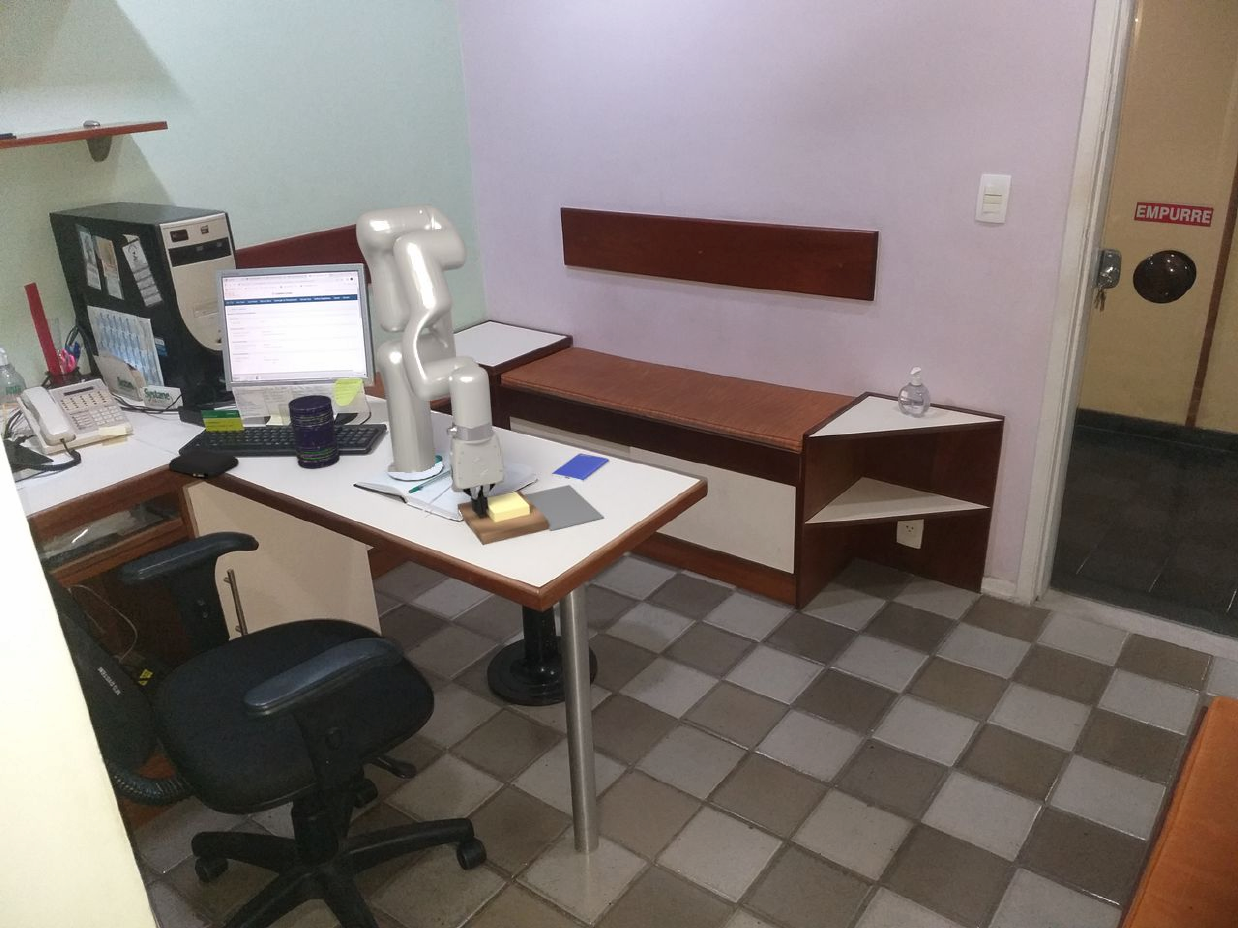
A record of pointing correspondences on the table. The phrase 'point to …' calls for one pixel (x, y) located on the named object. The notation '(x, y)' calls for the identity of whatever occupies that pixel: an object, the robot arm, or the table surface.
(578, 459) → the hard drive
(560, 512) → the mat
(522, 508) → the sticky pad
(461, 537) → the table surface
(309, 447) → the storage jar
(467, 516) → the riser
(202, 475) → the carrying case or bag
